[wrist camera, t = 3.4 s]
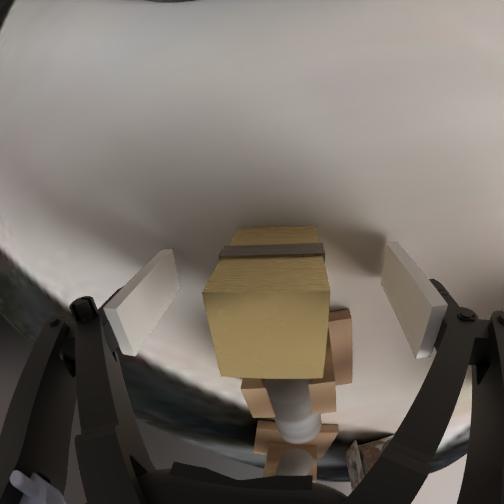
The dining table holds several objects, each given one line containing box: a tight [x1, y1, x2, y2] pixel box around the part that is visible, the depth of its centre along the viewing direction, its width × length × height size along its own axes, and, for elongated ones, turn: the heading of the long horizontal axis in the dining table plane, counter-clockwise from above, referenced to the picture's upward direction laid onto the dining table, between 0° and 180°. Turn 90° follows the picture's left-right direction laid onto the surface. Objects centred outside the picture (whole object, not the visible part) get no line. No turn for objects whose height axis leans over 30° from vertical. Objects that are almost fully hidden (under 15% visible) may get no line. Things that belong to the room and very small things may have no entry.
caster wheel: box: [345, 435, 394, 491], centre depth 22 cm, size 7×11×10 cm
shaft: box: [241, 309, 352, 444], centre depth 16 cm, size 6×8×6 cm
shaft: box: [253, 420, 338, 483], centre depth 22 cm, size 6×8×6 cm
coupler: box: [202, 226, 330, 379], centre depth 13 cm, size 5×5×7 cm
